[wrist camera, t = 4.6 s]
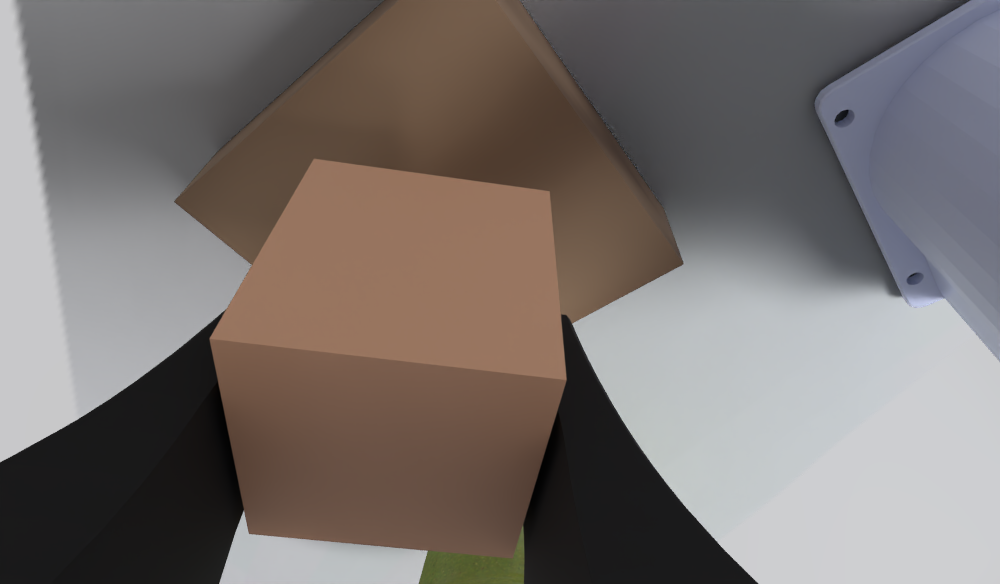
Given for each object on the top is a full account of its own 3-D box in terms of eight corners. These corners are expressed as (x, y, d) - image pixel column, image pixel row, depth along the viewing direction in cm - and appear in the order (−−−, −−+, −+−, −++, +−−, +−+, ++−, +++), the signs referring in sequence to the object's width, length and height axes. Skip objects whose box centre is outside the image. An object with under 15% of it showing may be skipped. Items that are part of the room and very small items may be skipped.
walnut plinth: (663, 209, 20) (683, 263, 17) (431, 343, 24) (422, 402, 21) (467, -75, 15) (458, -53, 13) (216, 152, 19) (174, 201, 17)
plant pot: (374, 489, 30) (332, 690, 23) (490, 386, 25) (481, 600, 18) (523, 553, 33) (525, 744, 27) (650, 473, 29) (692, 681, 22)
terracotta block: (549, 191, 12) (566, 379, 8) (513, 357, 15) (512, 558, 11) (313, 158, 12) (209, 338, 8) (322, 334, 14) (248, 534, 10)
